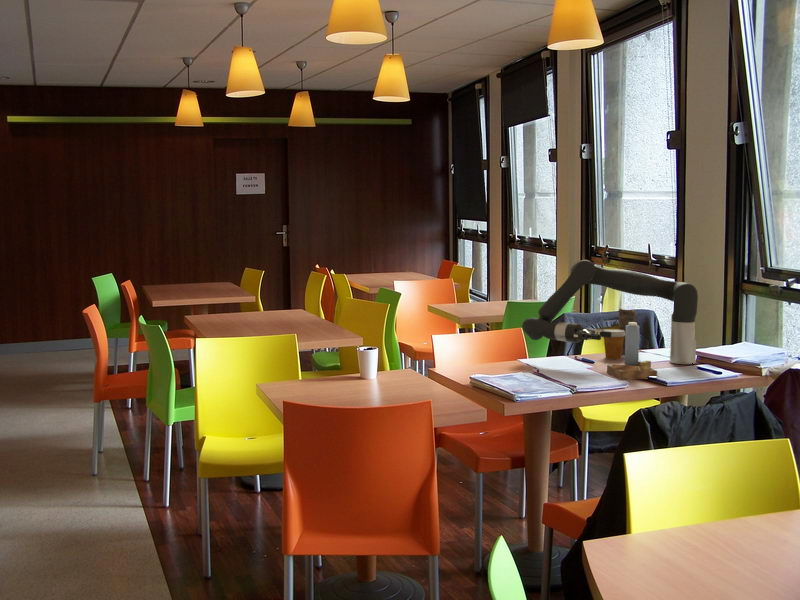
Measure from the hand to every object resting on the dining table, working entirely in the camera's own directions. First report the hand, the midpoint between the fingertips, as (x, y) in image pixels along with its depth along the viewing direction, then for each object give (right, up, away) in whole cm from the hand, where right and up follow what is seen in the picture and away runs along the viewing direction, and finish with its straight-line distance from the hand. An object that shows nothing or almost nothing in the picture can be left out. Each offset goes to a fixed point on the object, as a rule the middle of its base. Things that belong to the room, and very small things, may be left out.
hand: (605, 336), depth 322 cm
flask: (+8, -12, -6) cm, 15 cm away
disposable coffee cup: (+11, -11, +34) cm, 37 cm away
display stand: (+8, -15, -6) cm, 18 cm away
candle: (+20, -10, +45) cm, 50 cm away
